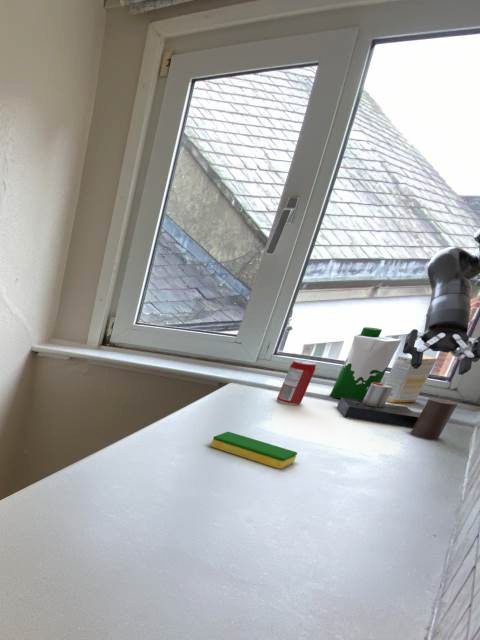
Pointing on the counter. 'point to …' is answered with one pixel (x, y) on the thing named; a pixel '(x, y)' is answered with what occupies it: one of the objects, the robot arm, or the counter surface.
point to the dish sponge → (254, 449)
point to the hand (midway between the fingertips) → (439, 369)
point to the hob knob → (377, 394)
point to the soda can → (296, 382)
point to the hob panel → (377, 413)
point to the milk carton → (364, 364)
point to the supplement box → (408, 378)
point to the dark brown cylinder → (433, 418)
